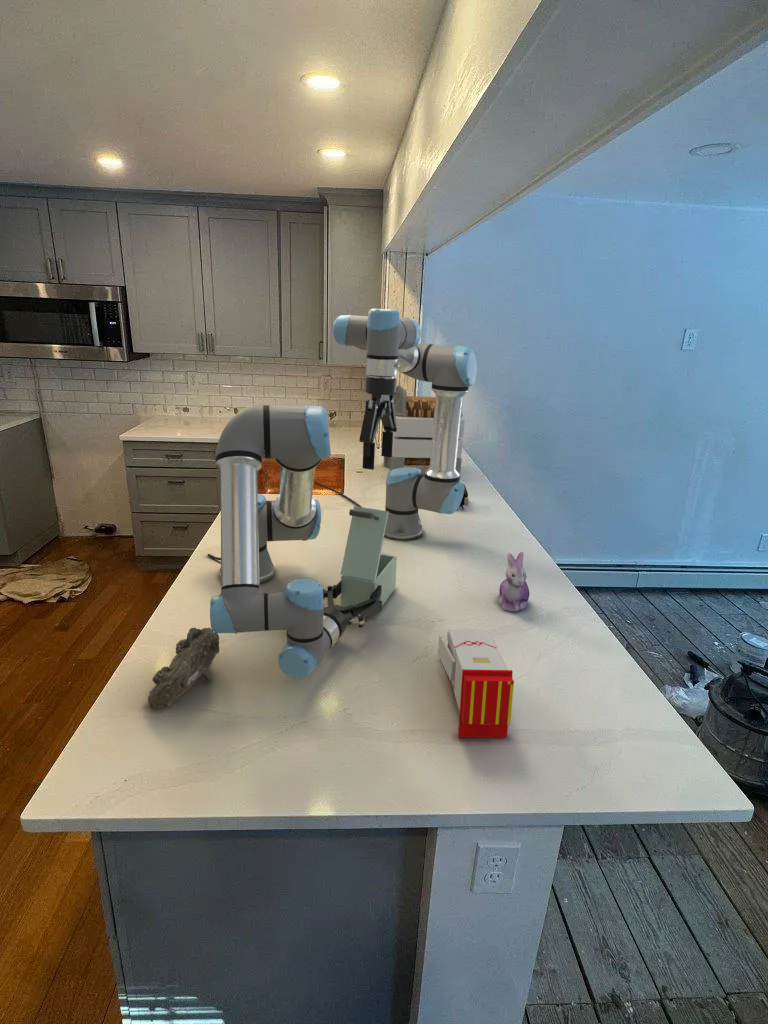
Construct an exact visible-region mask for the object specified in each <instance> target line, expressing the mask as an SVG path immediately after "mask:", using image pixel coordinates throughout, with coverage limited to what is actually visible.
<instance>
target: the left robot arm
mask: <svg viewBox="0 0 768 1024" xmlns="http://www.w3.org/2000/svg"><path fill="white" fill-rule="evenodd" d="M331 454H332V453H331V441H330V430H329V417H328V411H327V409H326V408H325V407H324V406H321V405H312V404H278V405H277V404H275V405H274V404H254V405H250V406H247V407H245V408H243V409H241V410H239V411H238V412H237V413H236V414H235V415H234V416H233V417H232V418H231V419H230V420H229V421H228V422H227V424H226V425H225V426H224V428H223V430H222V431H221V433H220V436H219V438H218V441H217V445H216V450H215V468H216V469H217V470H218V471H219V472H220V557H217V556H214V555H212V554H210V553H207V557H209V558H211V559H213V560H216V561H220V567H219V574H220V594H218V595H214V596H212V597H211V598H210V602H209V606H210V607H209V621H210V622H209V623H210V624H209V625H210V628H211V629H212V630H213V632H215V633H217V634H235V635H238V634H243V633H254V632H268V631H269V632H271V631H272V632H273V631H286V645H284V647H283V648H282V650H281V651H280V653H278V654H279V655H278V657H277V662H278V666H279V668H280V670H281V672H282V673H283V674H284V675H285V676H287V677H288V678H290V679H294V680H297V681H298V680H299V681H300V680H304V679H306V678H308V677H309V676H311V674H312V673H313V671H315V670H316V669H317V668H318V666H319V665H320V663H321V662H322V661H323V660H324V658H325V657H326V656H327V654H328V653H329V651H331V649H332V648H333V647H334V645H335V644H336V643H337V641H338V640H339V639H340V638H341V637H342V636H343V635H344V633H345V632H346V630H347V628H348V627H349V626H350V625H352V624H357V626H358V628H363V627H364V626H365V624H366V623H367V622H369V621H370V620H371V619H374V618H375V617H376V616H377V615H378V614H379V613H381V612H382V611H383V606H382V601H380V599H381V590H382V586H381V585H379V586H378V587H377V588H376V589H375V591H374V592H373V593H372V594H371V595H370V599H369V600H366V601H364V602H361V603H359V604H356V605H354V606H353V605H349V606H347V607H341V605H339V604H335V601H334V599H337V598H338V597H339V596H340V595H341V580H340V581H338V583H336V584H334V585H327V589H326V590H325V588H323V586H322V585H321V583H320V582H318V581H317V580H315V579H311V578H305V577H304V578H303V577H302V578H298V579H293V580H291V581H289V582H288V583H287V585H286V586H285V590H284V591H278V592H261V591H260V587H261V586H260V585H261V584H262V583H265V582H267V581H269V580H270V579H272V578H273V576H274V574H275V565H274V563H273V561H272V558H271V555H270V553H269V550H268V542H288V541H302V542H306V541H308V540H309V541H310V540H311V541H312V540H314V539H316V538H317V537H318V536H319V534H320V530H321V522H322V509H321V503H320V501H319V500H318V499H314V497H313V492H314V484H315V483H314V482H315V473H316V468H317V467H318V466H319V465H320V463H321V462H322V460H325V459H328V458H330V457H331V456H332V455H331ZM263 459H264V460H265V459H266V460H267V459H274V460H275V462H276V463H277V464H278V466H279V465H280V468H279V495H278V496H277V497H276V498H275V500H274V499H273V500H267V498H266V496H265V495H263V494H260V493H259V490H258V489H259V488H258V472H259V471H260V470H261V469H262V467H263ZM326 598H327V606H325V602H324V600H325V599H326ZM374 616H375V617H374ZM373 617H374V618H373Z"/></svg>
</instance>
